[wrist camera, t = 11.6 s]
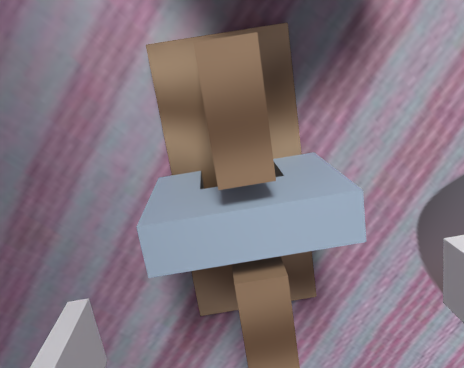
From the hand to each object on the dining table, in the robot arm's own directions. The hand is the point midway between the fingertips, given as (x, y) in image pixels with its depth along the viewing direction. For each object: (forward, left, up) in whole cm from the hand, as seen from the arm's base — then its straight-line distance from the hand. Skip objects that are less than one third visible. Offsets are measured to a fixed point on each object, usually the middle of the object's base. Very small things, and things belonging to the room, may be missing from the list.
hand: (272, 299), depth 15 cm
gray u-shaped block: (0, 0, -17) cm, 17 cm away
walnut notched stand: (0, 0, -18) cm, 18 cm away
